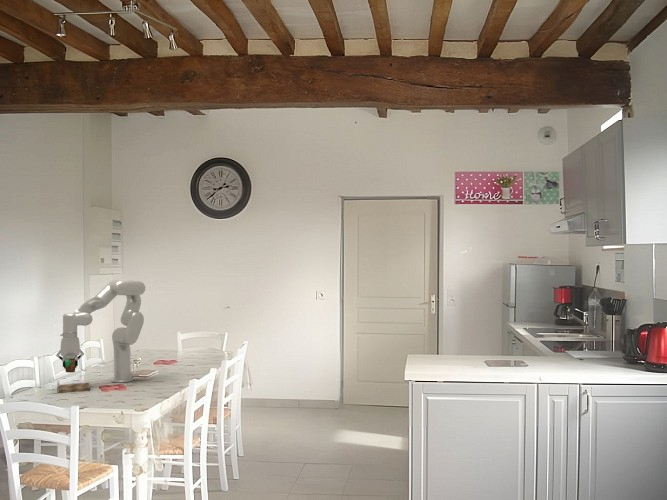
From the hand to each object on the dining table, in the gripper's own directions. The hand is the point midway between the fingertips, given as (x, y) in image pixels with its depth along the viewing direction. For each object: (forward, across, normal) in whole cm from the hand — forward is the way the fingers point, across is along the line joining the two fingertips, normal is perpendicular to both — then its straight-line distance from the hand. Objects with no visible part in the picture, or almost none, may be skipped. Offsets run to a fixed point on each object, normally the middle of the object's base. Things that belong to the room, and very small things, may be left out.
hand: (70, 367), depth 393 cm
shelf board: (+12, +2, 0) cm, 12 cm away
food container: (+2, -1, 0) cm, 2 cm away
